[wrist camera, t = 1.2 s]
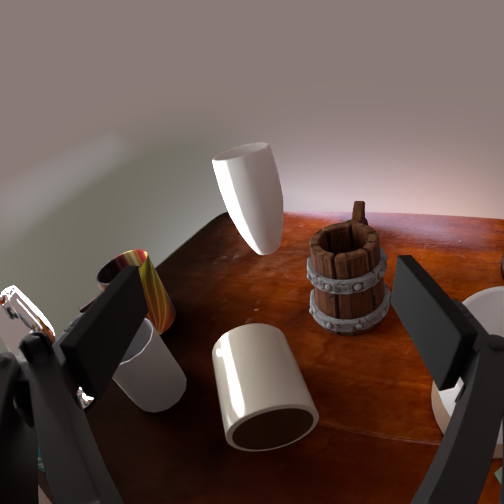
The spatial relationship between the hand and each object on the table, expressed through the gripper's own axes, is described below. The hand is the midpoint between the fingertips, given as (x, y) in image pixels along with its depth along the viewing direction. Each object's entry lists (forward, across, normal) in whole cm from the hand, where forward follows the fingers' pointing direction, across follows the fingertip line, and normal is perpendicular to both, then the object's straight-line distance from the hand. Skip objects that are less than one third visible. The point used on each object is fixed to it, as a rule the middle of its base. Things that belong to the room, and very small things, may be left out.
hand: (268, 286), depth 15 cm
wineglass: (+13, -30, -27) cm, 43 cm away
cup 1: (+14, -16, -24) cm, 32 cm away
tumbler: (+10, -1, -22) cm, 24 cm away
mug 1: (+27, -22, -24) cm, 42 cm away
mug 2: (+25, +12, -17) cm, 32 cm away
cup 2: (+40, 0, -17) cm, 44 cm away
